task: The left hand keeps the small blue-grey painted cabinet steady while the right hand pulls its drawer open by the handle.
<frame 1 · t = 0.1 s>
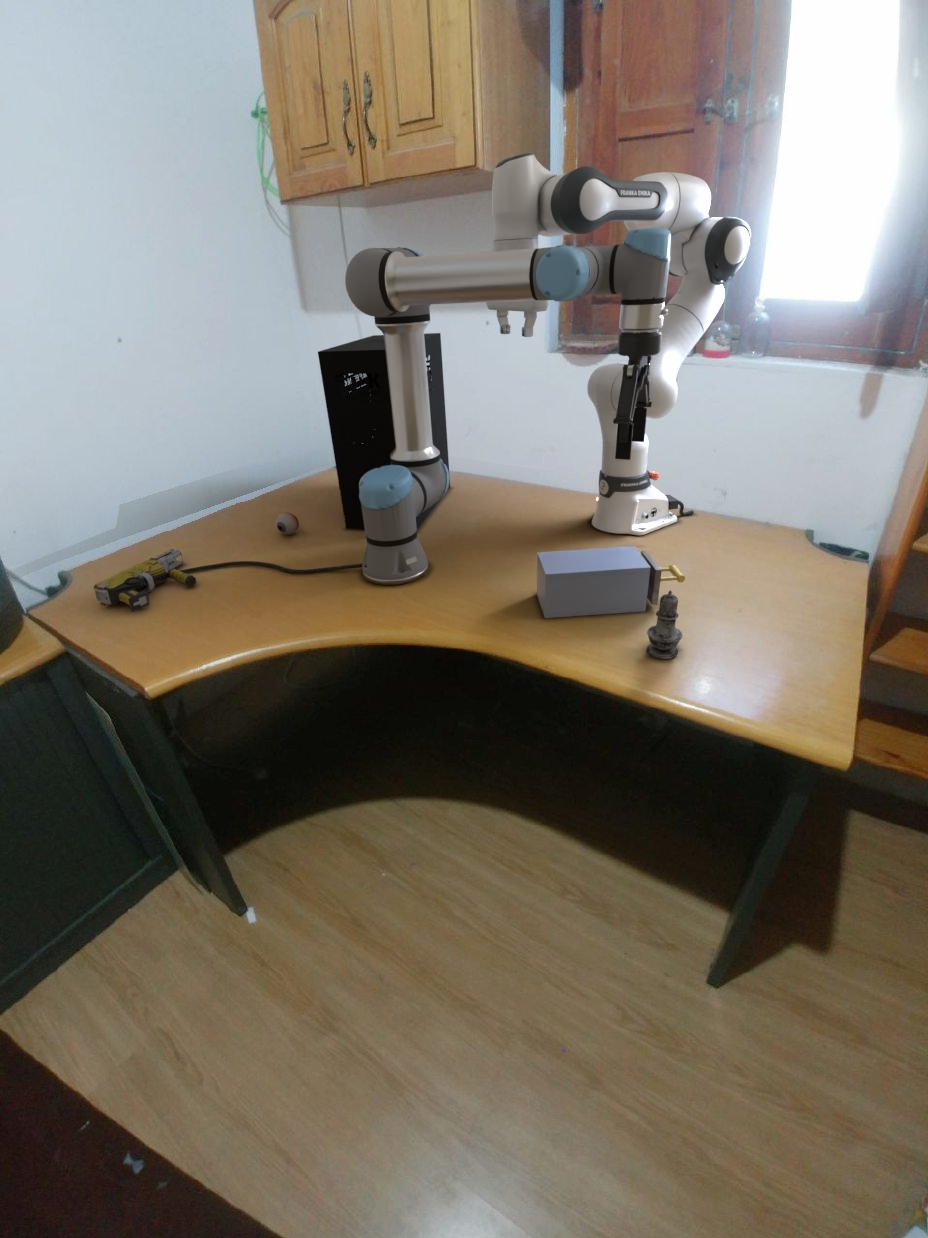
left hand: (630, 449, 119), 28 cm above the table, tool pointing down, fingers open, 13 cm apart
right hand: (516, 335, 125), 48 cm above the table, tool pointing down, fingers open, 8 cm apart
toy gun: (162, 588, 140), on the table
dark grey chess piece: (662, 651, 107), on the table
black tall box: (402, 506, 180), on the table
cabinet: (589, 602, 123), on the table
drawer: (619, 579, 121), point 5 cm above the table, slide at 1.3 cm
eyeball: (289, 534, 165), on the table
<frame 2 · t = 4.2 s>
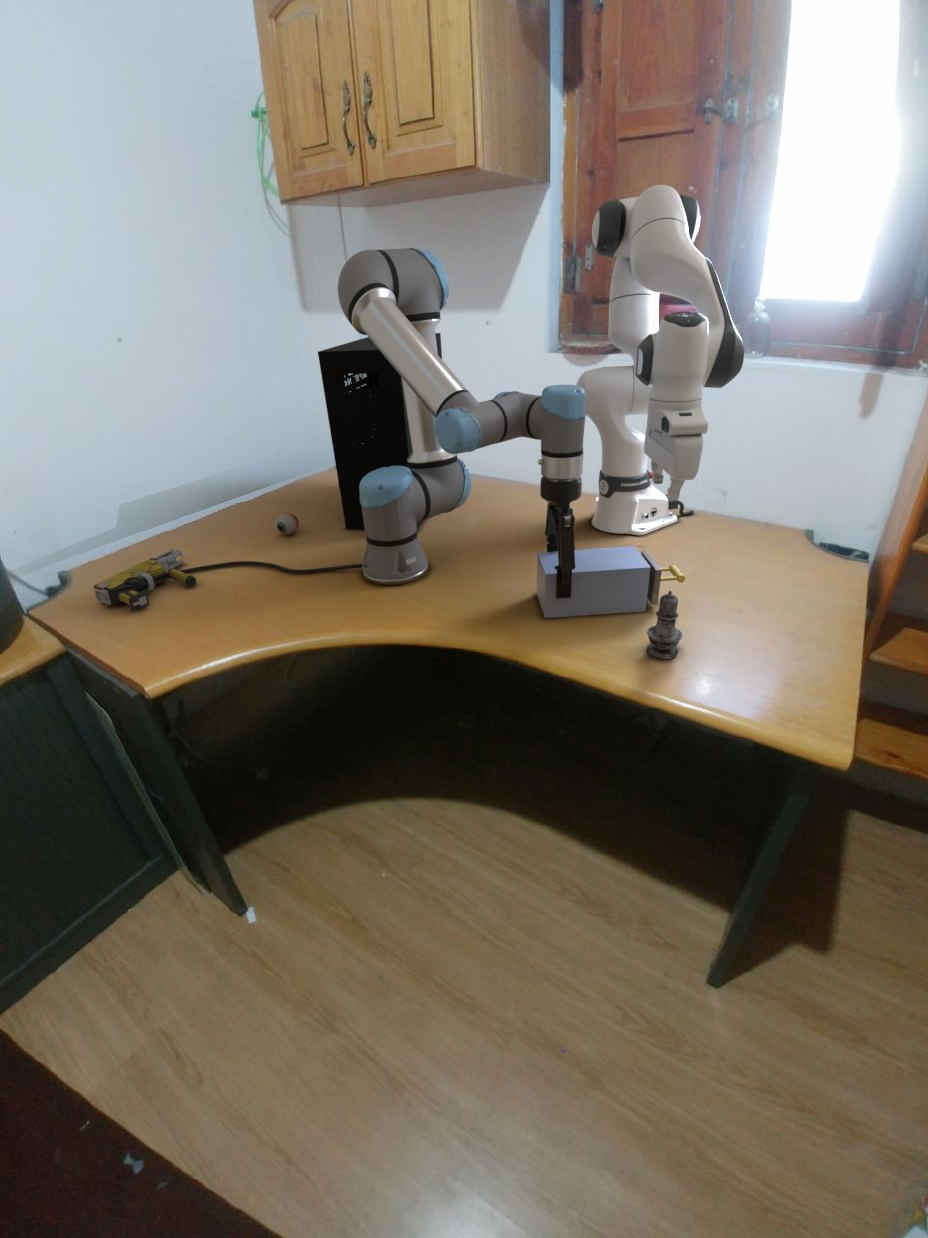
left hand: (558, 584, 121), 5 cm above the table, tool pointing down, fingers closed on cabinet, 10 cm apart
right hand: (664, 490, 114), 22 cm above the table, tool pointing down, fingers open, 8 cm apart
cabinet: (589, 602, 123), on the table, touching left hand
everything else where it was.
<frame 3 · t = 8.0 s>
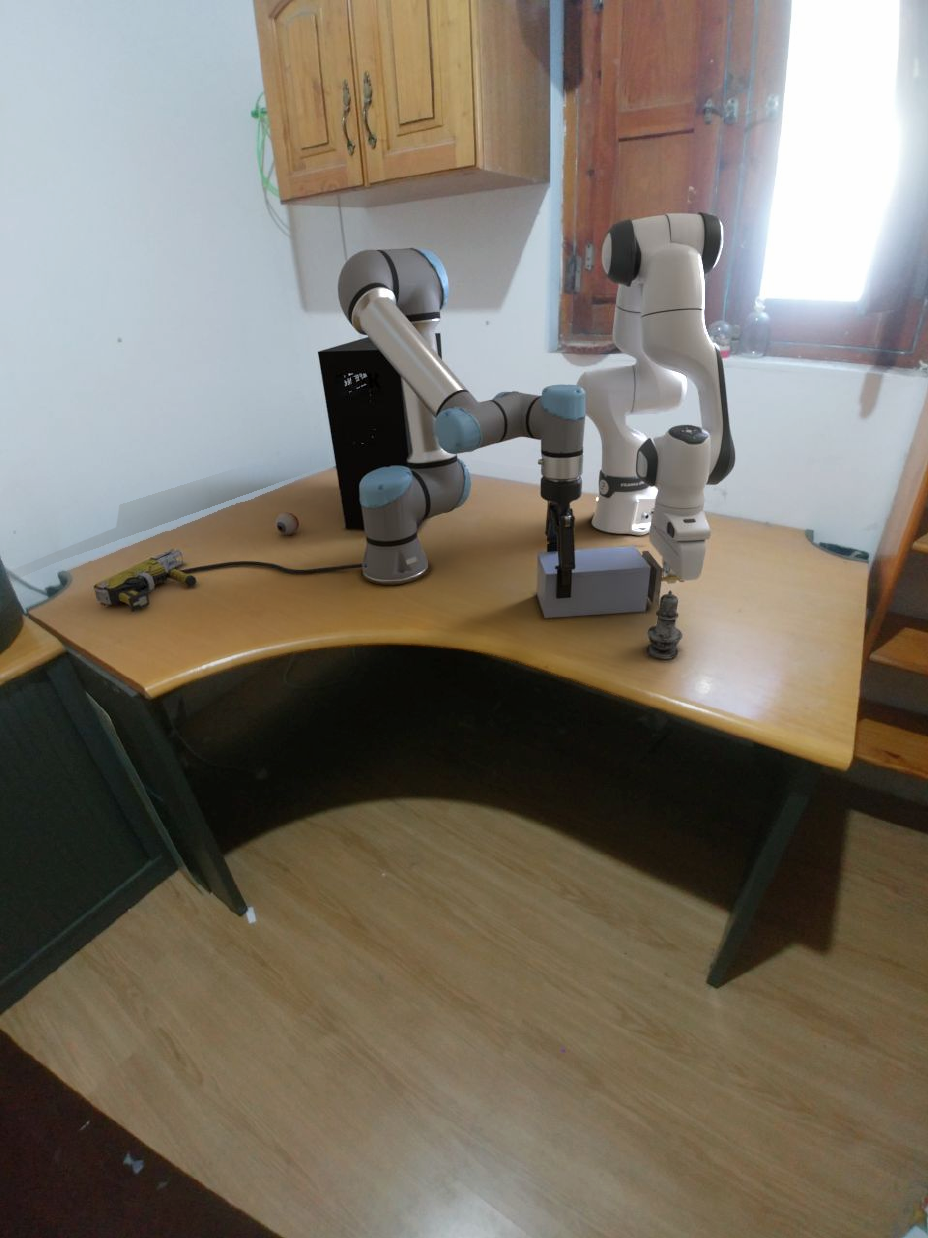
left hand: (558, 584, 121), 5 cm above the table, tool pointing down, fingers closed on cabinet, 10 cm apart
right hand: (669, 580, 122), 4 cm above the table, tool pointing down, fingers closed, pressing on drawer
cabinet: (589, 602, 123), on the table, touching left hand
drawer: (621, 579, 121), point 5 cm above the table, slide at 1.5 cm, touching right hand
everything else where it was.
when the left hand's fingers open (5 cm above the table, at t = 10.7 s): cabinet stays where it is, on the table.
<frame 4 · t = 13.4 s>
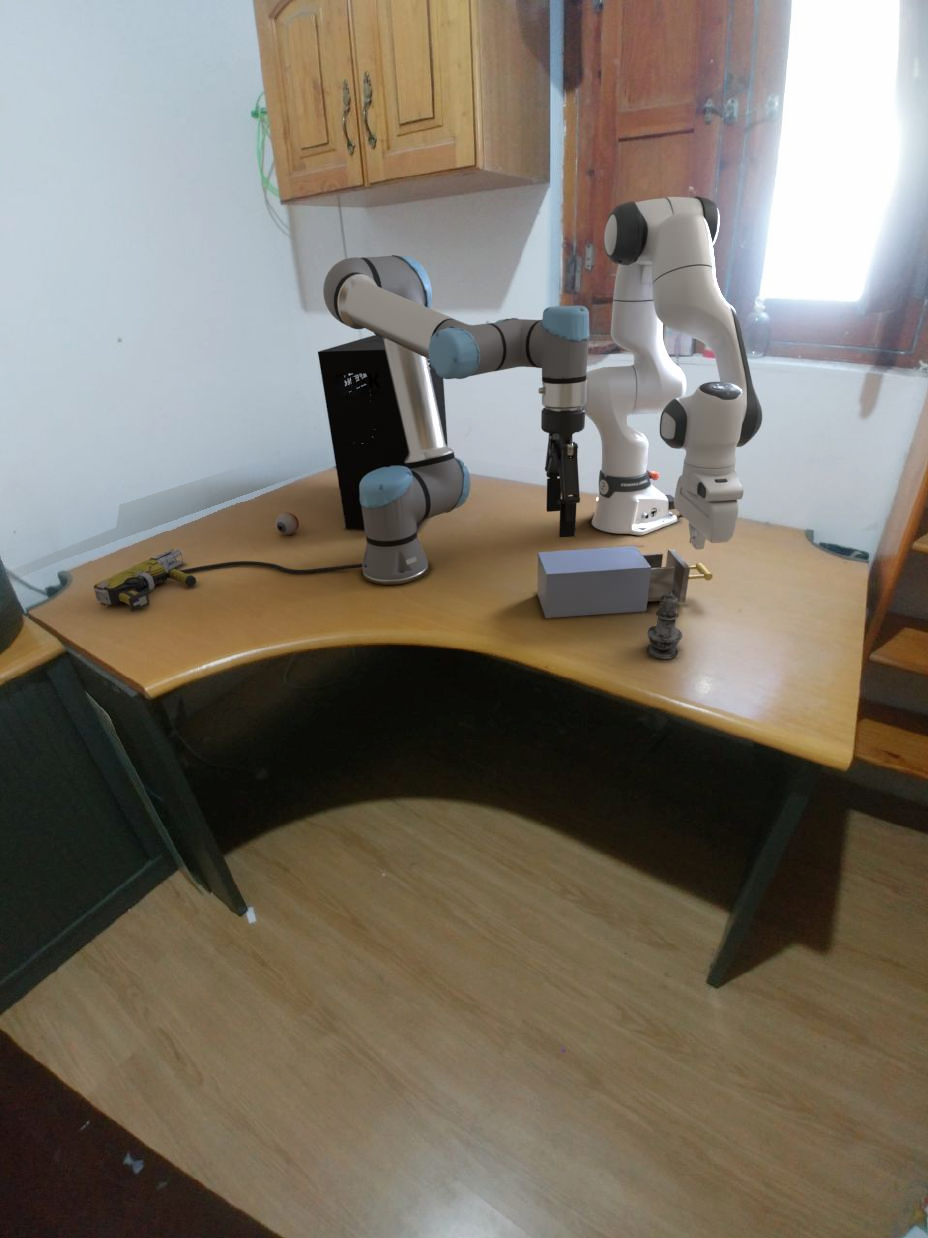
left hand: (559, 523, 114), 18 cm above the table, tool pointing down, fingers open, 13 cm apart
right hand: (696, 546, 118), 11 cm above the table, tool pointing down, fingers closed
cabinet: (589, 602, 123), on the table
drawer: (647, 577, 121), point 5 cm above the table, slide at 6.6 cm
everything else where it was.
at the end: drawer slide at 6.6 cm; cabinet tilted 0°; cabinet never tilted more than 1° during the clip; cabinet moved 0.2 cm from its start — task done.
